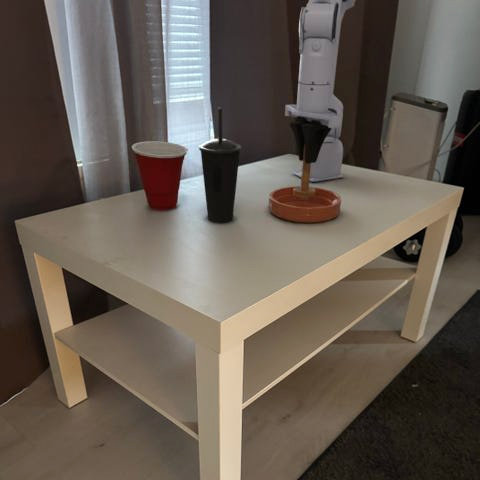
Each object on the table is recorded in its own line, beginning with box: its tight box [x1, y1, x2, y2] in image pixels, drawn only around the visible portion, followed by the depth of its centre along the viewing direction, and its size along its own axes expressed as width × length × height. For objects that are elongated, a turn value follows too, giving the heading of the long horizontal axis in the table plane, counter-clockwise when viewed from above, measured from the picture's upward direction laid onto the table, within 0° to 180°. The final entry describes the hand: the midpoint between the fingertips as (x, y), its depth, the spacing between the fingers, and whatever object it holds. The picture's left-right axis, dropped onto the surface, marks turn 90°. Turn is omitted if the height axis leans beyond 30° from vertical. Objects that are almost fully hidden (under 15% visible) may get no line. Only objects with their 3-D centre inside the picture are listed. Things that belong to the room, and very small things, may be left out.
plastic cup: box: [131, 140, 188, 211], centre depth 97 cm, size 11×11×12 cm
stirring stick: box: [293, 144, 316, 197], centre depth 94 cm, size 4×4×10 cm
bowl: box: [268, 185, 342, 224], centre depth 97 cm, size 14×14×3 cm
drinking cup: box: [198, 107, 242, 224], centre depth 89 cm, size 8×8×20 cm
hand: (307, 161), depth 93 cm, fingers closed on stirring stick
